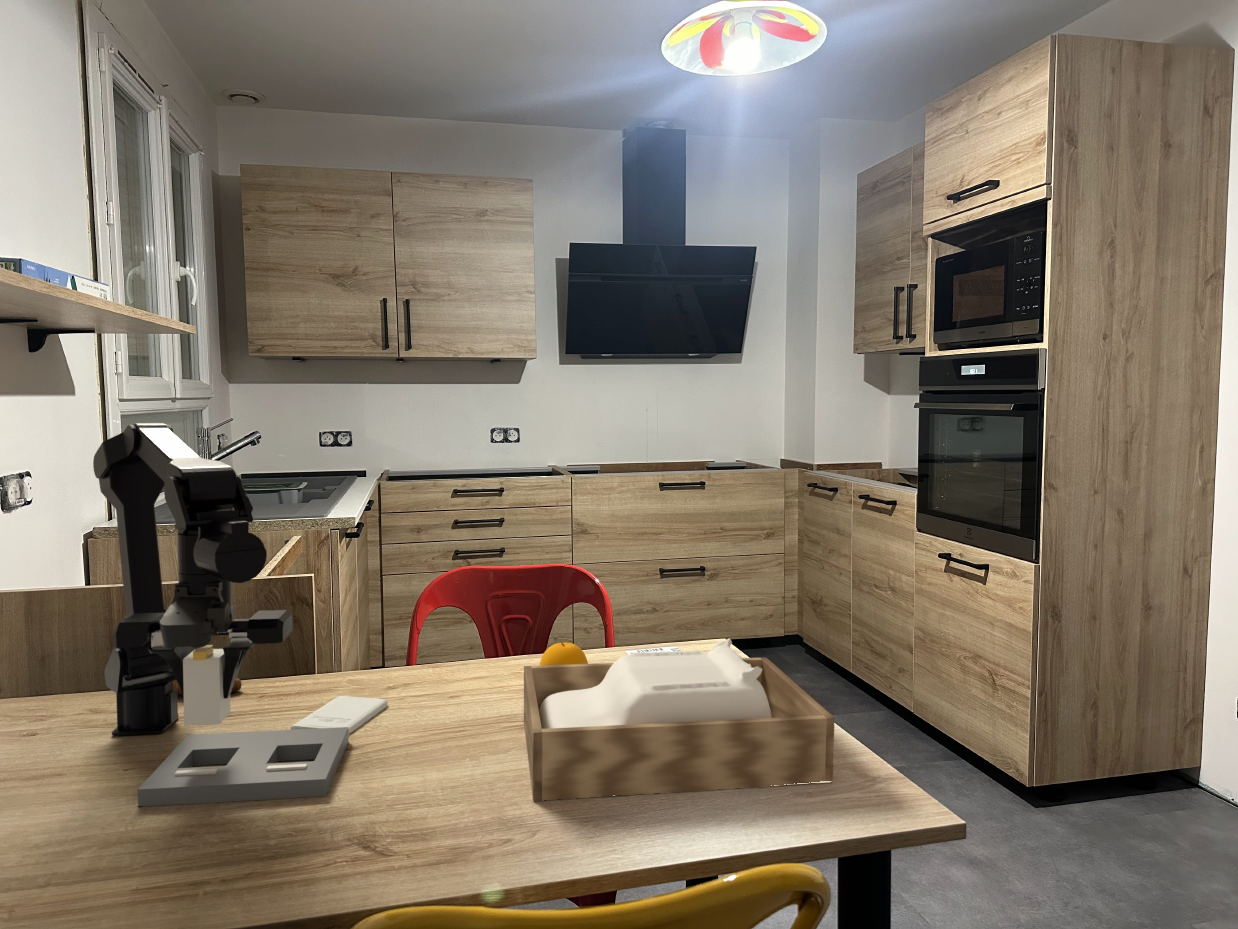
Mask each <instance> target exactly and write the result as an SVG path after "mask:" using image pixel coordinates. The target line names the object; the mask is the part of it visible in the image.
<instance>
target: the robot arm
mask: <svg viewBox="0 0 1238 929" xmlns="http://www.w3.org/2000/svg"><path fill="white" fill-rule="evenodd" d="M93 456H94V457H93V462H92V464H93V465H92V467H93V473H94V476H95V477H96V479H98V481H99V482H98V483H99V490H100V493H101V494H102V495H103V496H104V497H105V498H106V500H107V501H108V503H110V505H112V507H113V508H114V510H115V513H116V514H115V515H116V524H117V534H118V536H117V537H118V545H119V556H120V564H121V565H120V566H121V576H122V586H123V587H122V588H123V597H124V607H125V608H124V609H125V615H124V617H123V619H122V620H121V621H119V622H118V623H117V624H116V626H114V629H113V632H112V641H113V642H112V643H113V644H112V645H113V646H112V647H113V649H112V650H111V652H110V655H109V659H108V660H107V663H106V666H105V669H104V672H103V673H104V679H105V680H104V681H105V686H106V688H108V689H110V690H111V691H112V692H113V693H115V696H116V727H115V728H114V729H113V730H112V731H111V736H129V735H133V736H134V735H150V734H151V735H152V734H153V735H154V734H163V733H164V732H165V731H166V730H167V729H168V728H169V727H170V726H172V724H173V723H174V722H176V720H177V719H178V718H179V711H178V710H179V708H178V705H179V704H178V695H177V690H176V689H173V681H175V680H177V682H178V685H179V687H180V689H181V691H182V694H183V695H182V696H183V697H184V685H183V659H184V658H185V657H186V656H188V655H189V654H190V653H191V652H192V651H193V650H192V648H194V649H197V648H200V647H204V646H206V645H210V642H211V640H212V636H228V639H229V640H230V641H229V642H227V643H226V645H224V647H222V649H223V651H224V655H225V667H224V680H223V693H224V698H225V699H226V698H228V697H229V696H230V697H231V693H232V692H231V691H232V688H233V685H234V682H235V680H236V677H237V678H238V674H239V671H240V669H241V666H242V663H243V661H244V659H245V657H246V654H247V653H248V651H250V650H251V649H252V648H254V647H255V645H261V644H262V645H263V644H267V645H268V644H279V643H280V644H281V643H283V642H284V641H285V640H286V639H287V638H288V637H289V636H290V634H291V633H292V632H293V630H294V629H293V628H294V625H293V624H294V623H293V621H294V620H293V615H292V614H291V612H289V610H288V609H275V610H273V609H272V610H271V609H270V610H268V609H267V610H258V611H257V612H255V613H254V614H253V615H252V616H251V617H249V618H233V616H234V615H235V606H233V585H232V584H242V583H243V584H244V583H247V582H249V581H252V580H253V579H255V578H256V577H257V576H258V575H259V574H260V573H261V571H262V570H263V569H264V567H265V565H266V562H267V556H268V554H267V549H266V548H265V545H264V543H263V541H262V539H261V538H259V537H258V535H256V534H254V533H251V532H250V530H249V526H250V525H249V524H251V523H253V522H254V517H253V514H252V512H253V510H254V508H253V505H252V503H251V501H250V498H249V496H248V494H247V491H246V489H245V487H244V485H243V484H242V481H241V478H240V476H239V475H238V474H237V473H236V471H235V469H234V468H233V467H232V466H231V465H229V464H227V463H225V462H223V461H220V460H216V459H215V460H214V459H208V458H204V457H202V456H201V457H200V455H198V454H197V453H196V452H195V451H194V450H193V449H192V448H190V447H189V446H188V445H187V444H186V443H185V442H183V440H182V439H180V438H179V436H177V435H176V434H175V432H174V430H173V427H172V426H171V425H170V424H166V423H164V422H139V423H138V422H134V423H132V424H128V425H127V426H126V427H125V429H124V431H122V432H121V433H119V434H116V435H115V436H112V437H110V438H107V439H106V440H104V441H102V442H101V444H100V445H99V447H98V448H97V450H96V451H95V454H94V455H93ZM163 489H164V490H163ZM162 491H164V492H163V493H164V499H165V503H166V505H167V507H168V509H169V511H170V513H171V515H172V517H173V519H174V520H175V524H174V529H175V530H176V531H177V564H178V565H177V566H178V567H177V568H178V569H177V570H178V571H177V572H178V574H177V575H178V578H177V579H178V582H176V583H175V584H174V590H173V591H174V593H173V594H174V596H173V599H172V602H171V604H169V605H168V607H167V609H166V607H165V603H164V602H165V600H164V592H163V591H164V590H163V581H162V580H163V579H162V572H161V571H162V569H161V560H160V549H159V540H158V529H157V522H156V511H155V510H156V509H155V503H157V500H158V499H159V497H160V495H161V493H162Z"/></svg>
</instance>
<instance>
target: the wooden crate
mask: <svg viewBox="0 0 1238 929" xmlns="http://www.w3.org/2000/svg"><path fill="white" fill-rule="evenodd" d="M742 659H743V661H744V662H746V663H747V664H750V665H751V667H752V668H755V667H757V666H758V667H760V668H761V669H763V670H762V672H761V674H760V675H759V677H758V678H757V680H758V681H759V682H760V684H761V685H762V687H763V689H764V691H765V693H766V696H767V699H768V703H769V706H770V711H771V717H772V718H757V719H736V720H716V721H695V722H674V723H654V724H633V725H612V726H592V727H571V728H550V729H542V727H541V722H540V716H539V710H540V706H541V704H542V702H543V701H544V700H545V699H546V698H547V697H548V696H550V695H552V694H556V693H560V692H565V691H573V690H582V689H588V688H592V687H595V686H597V685H599V684H600V683H601V682H602V681H603V679H604V678H605V676H606V674H607V672H608V670H609V669H610V667H611V666H612V665H613V664H614V662H604V663H601V662H600V663H588V664H573V665H545V666H540V665H528V666H527V665H526V666H525V665H524V666H523V726H524V727H523V728H524V735H525V742H526V751H527V760H528V767H529V768H528V769H529V775H530V776H529V777H530V778H529V780H530V784H531V785H530V786H531V794H532V795H533V796H532V802H545V801H544V800H547V801H559V800H558V799H563V800H574V799H575V800H577V799H576V798H579V799H591V798H590V797H596V798H600V797H599V796H612V797H614V796H613V795H628V796H635V795H634V794H644V795H654V794H653V793H660V794H668V793H667V792H677V793H687V791H693V792H704V791H705V790H706V792H707V791H708V790H709V791H720V790H721V789H725V790H735V789H734V788H741V789H750V788H749V787H757V788H763V787H762V786H771V785H772V786H774V785H784V784H786V785H787V784H794V783H795V784H797V783H809V782H810V783H811V782H820V781H833V782H834V754H835V753H834V752H835V751H834V750H835V749H834V748H835V747H834V746H835V718H836V717H834V715H832V714H831V713H830V712H828V711H827V709H825V708H824V707H823V706H822V705H821V704H820V703H818V702H817V701H816V700H815V699H814V698H813V697H812V696H810V694H808V693H807V692H806V691H805V690H804V689H802V688H801V687H800V686H799V685H798V684H797V683H795V681H793V680H792V679H791V678H790V677H789V676H788V675H787V674H785V672H784V671H782V670H781V669H780V668H779V667H778V666H777V665H776V664H774V663H773V662H772V661H771V660H769V658H767V657H745V658H743V657H742ZM746 787H747V788H746ZM774 787H775V786H774ZM731 788H733V789H731ZM718 789H720V790H718ZM701 790H702V791H701ZM683 791H684V792H683ZM721 791H722V790H721ZM649 793H650V794H649Z"/></svg>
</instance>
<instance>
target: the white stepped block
mask: <svg viewBox="0 0 1238 929" xmlns="http://www.w3.org/2000/svg"><path fill="white" fill-rule="evenodd" d="M732 644H733V642H732V640H731V638H728V639H725V640H722V641H719V642H717V643H715V644H714V645H713V647H712V650H710V651H705V652H704V651H702V652H701V651H699V650H688V651H687V650H686V651H682V650H679V651H650V652H647V651H646V652H641V651H639V652H631V653H630V654H626V655H622V656H621V657H619V658H617V660H615V661H614V662H613V663H614V664H613V665H612V666H611V667H610V669H609V670H608V672H607V674H606V676H605V678H604V679H603V681H602V682H601V683H600V684H599V685H597V686H595V687H592V688H588V689H582V690H573V691H565V692H560V693H556V694H552V695H550V696H548V697H547V698H546V699H545V700H544V701H543V702H542V704H541V706H540V710H539V716H540V722H541V727H542V729H550V728H571V727H592V726H612V725H633V724H654V723H674V722H695V721H716V720H736V719H757V718H772V717H771V711H770V706H769V703H768V699H767V696H766V693H765V691H764V689H763V687H762V685H761V684H760V682H759V681H758V680H757V678H758V677H759V675H760V674H761V672H762V670H763V669H761V668H760V667H758V666H757V667H755V668H752V667H751V665H750V664H747V663H746V662H744V661H743V659H742V658H743V657H742V656H741V655H739V654H738V653H737V652H736V651H735V650H734V649H732V648H731V646H732Z"/></svg>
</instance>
